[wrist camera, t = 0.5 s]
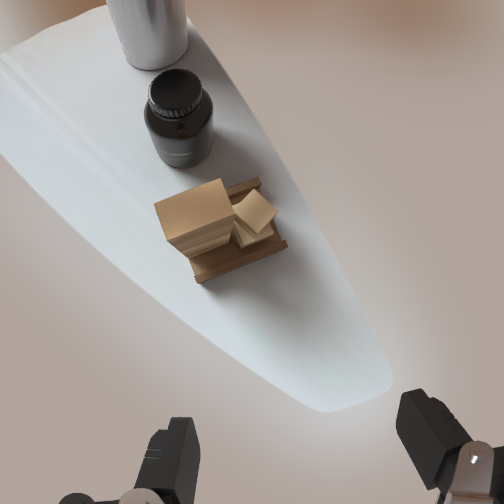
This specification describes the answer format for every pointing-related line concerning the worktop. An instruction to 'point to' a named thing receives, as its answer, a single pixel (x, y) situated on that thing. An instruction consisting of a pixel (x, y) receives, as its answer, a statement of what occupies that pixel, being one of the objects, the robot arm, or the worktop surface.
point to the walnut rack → (236, 243)
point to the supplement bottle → (179, 118)
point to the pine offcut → (246, 238)
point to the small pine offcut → (254, 213)
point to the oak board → (197, 218)
